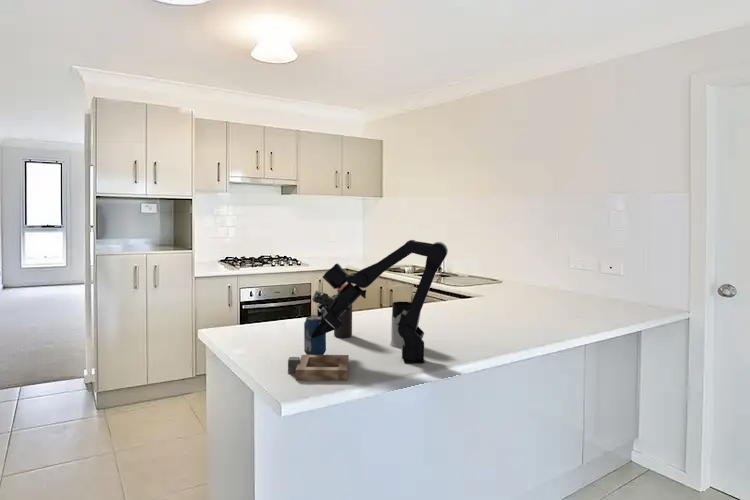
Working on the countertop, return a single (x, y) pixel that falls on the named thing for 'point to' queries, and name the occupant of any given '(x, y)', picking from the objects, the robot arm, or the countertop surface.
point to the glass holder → (396, 314)
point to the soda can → (313, 344)
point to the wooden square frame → (319, 367)
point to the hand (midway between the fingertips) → (310, 334)
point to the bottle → (345, 322)
